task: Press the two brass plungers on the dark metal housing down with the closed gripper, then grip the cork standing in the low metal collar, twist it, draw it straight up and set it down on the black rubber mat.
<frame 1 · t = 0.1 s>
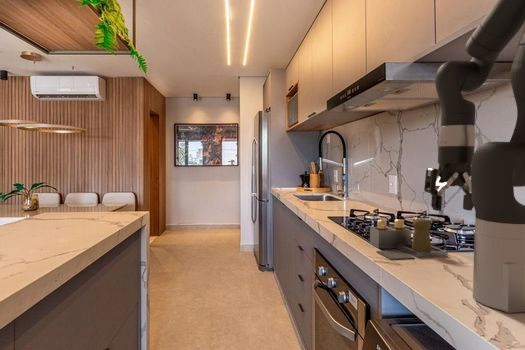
hand: (452, 210, 76), 17 cm above the countertop, tool pointing down, fingers open, 8 cm apart
housing: (402, 248, 104), on the countertop
plunger 1: (381, 227, 107), point 6 cm above the countertop, slide at 0.0 cm
cork: (421, 253, 99), resting in housing
plunger 2: (399, 226, 107), point 6 cm above the countertop, slide at 0.0 cm
mat: (394, 255, 96), on the countertop
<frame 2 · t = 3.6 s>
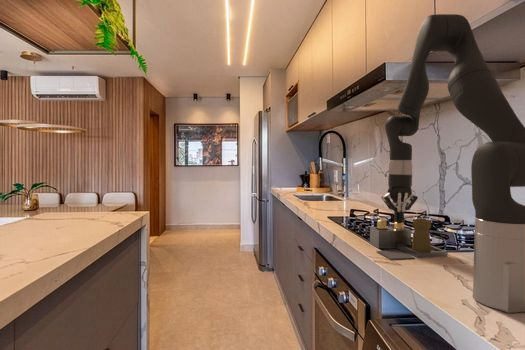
hand: (398, 222, 108), 8 cm above the countertop, tool pointing down, fingers closed
plunger 2: (398, 229, 108), point 6 cm above the countertop, slide at 0.9 cm, touching gripper
everything else where it was.
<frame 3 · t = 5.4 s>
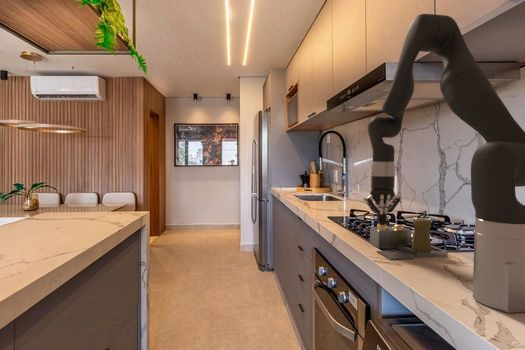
hand: (381, 224, 107), 8 cm above the countertop, tool pointing down, fingers closed
plunger 1: (381, 231, 107), point 5 cm above the countertop, slide at 1.5 cm, touching gripper
plunger 2: (398, 232, 108), point 5 cm above the countertop, slide at 1.9 cm
everything else where it was.
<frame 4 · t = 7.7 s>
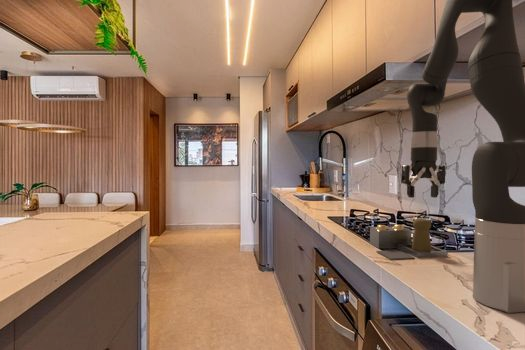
hand: (422, 197, 98), 18 cm above the countertop, tool pointing down, fingers open, 7 cm apart
plunger 1: (381, 232, 107), point 5 cm above the countertop, slide at 1.9 cm
everything else where it was.
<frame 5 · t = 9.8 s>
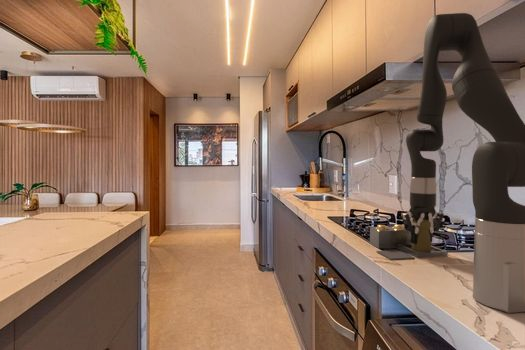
hand: (421, 243, 99), 3 cm above the countertop, tool pointing down, fingers closed on cork, 4 cm apart
cork: (421, 253, 99), resting in housing, touching gripper
everything else where it was.
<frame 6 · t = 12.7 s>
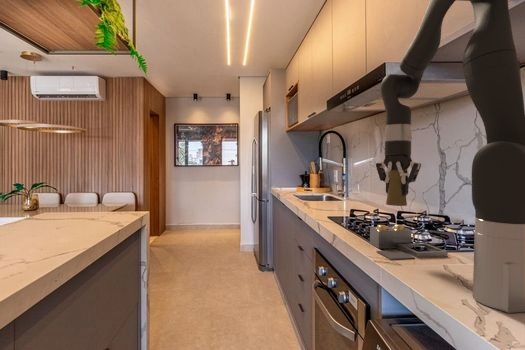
hand: (396, 195, 95), 19 cm above the countertop, tool pointing down, fingers closed on cork, 4 cm apart
cork: (396, 205, 95), point 16 cm above the countertop, touching gripper
everything else where it was.
when the fingers open (5 cm above the countertop, at t = 15.6 s): cork drops 1 cm, resting on mat.
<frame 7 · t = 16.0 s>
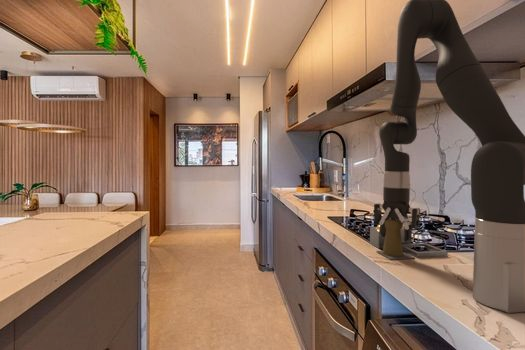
hand: (395, 238, 95), 5 cm above the countertop, tool pointing down, fingers open, 7 cm apart
cork: (392, 254, 96), resting on mat
everything else where it was.
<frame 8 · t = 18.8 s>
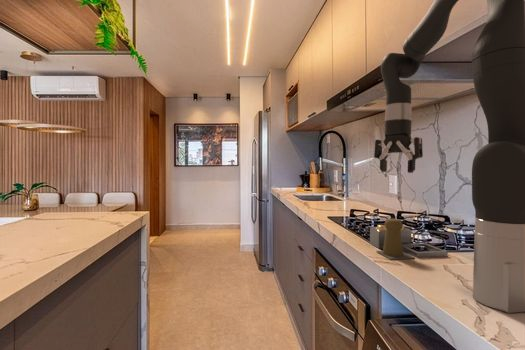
hand: (396, 172, 95), 26 cm above the countertop, tool pointing down, fingers open, 8 cm apart
nothing on the countertop moved.
at the end: plunger 2 slide at 1.9 cm; plunger 1 slide at 1.9 cm; cork 0.7 cm from the mat (horizontally) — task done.
